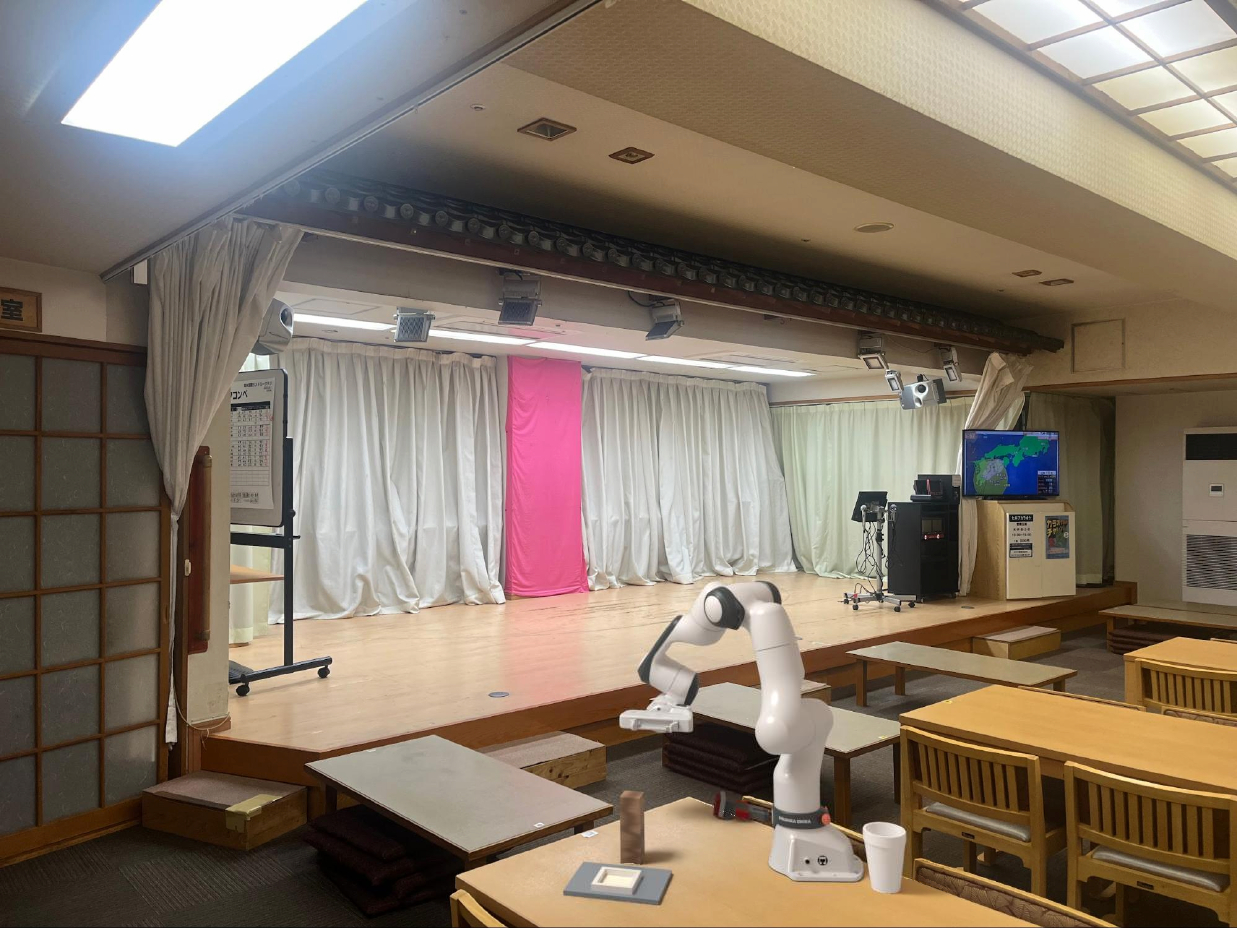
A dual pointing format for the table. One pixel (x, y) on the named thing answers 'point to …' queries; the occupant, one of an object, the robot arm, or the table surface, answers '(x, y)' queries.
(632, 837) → the pillar
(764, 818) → the toy
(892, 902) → the table surface
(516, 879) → the table surface
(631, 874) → the socket
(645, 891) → the board
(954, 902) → the table surface
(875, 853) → the foam cup
